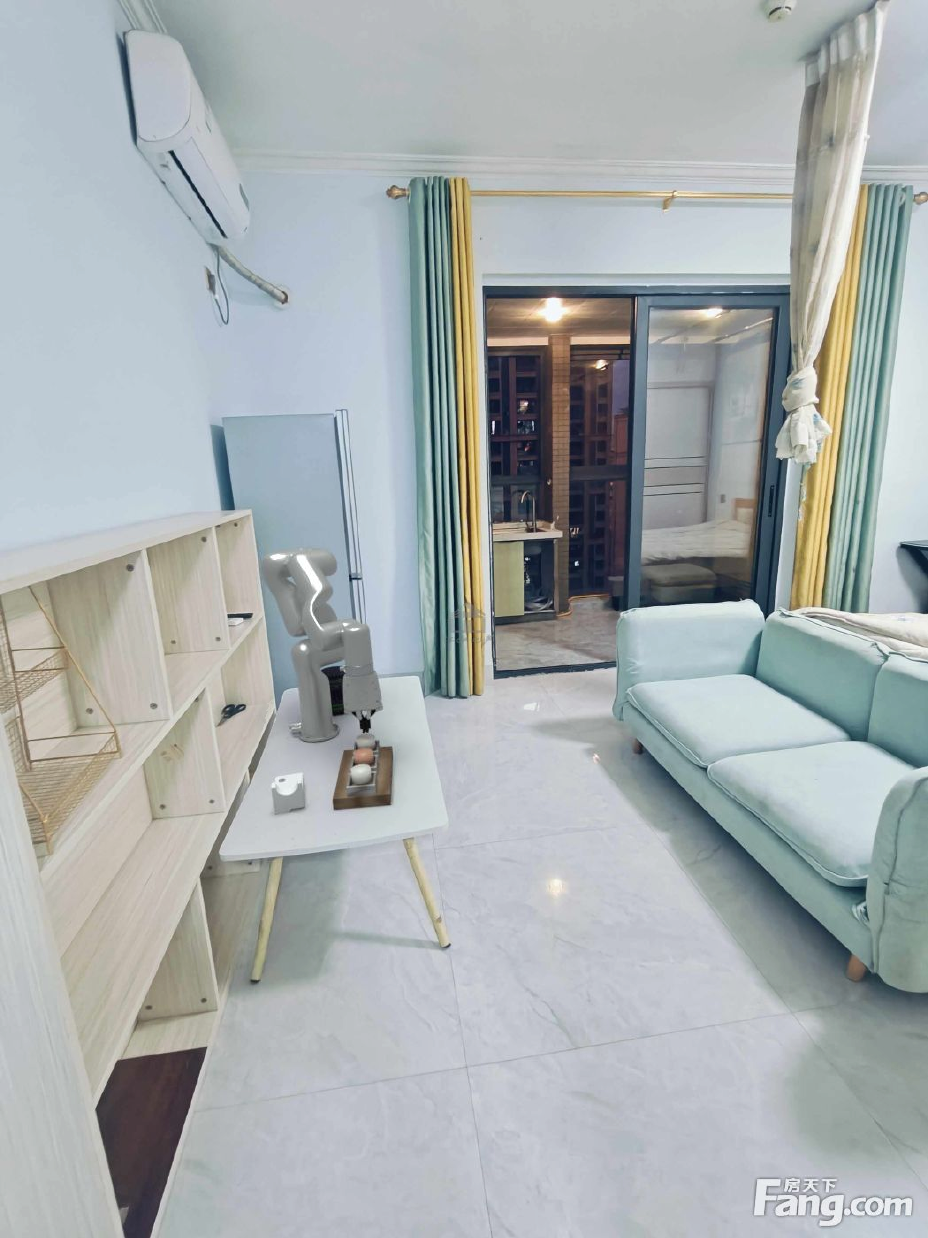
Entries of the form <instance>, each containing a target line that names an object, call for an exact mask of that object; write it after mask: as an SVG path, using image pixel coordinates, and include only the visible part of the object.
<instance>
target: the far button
mask: <svg viewBox="0 0 928 1238" xmlns="http://www.w3.org/2000/svg"><path fill="white" fill-rule="evenodd" d="M375 740H376V737H375V735H374V734H373V733H370V732H369V733H366V732H365V733H361V734H359V735H357V737H356V742H357V748H358V749H360V748H370V749H374V748H375Z"/></svg>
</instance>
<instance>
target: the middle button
mask: <svg viewBox="0 0 928 1238" xmlns="http://www.w3.org/2000/svg"><path fill="white" fill-rule="evenodd" d="M354 761H355V765H359V764H367V765H369V766H370V765H371V764H373V762H374V759H373V750H372V749H370V748H360V749H357V750H356V751H355V752H354Z"/></svg>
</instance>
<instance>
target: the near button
mask: <svg viewBox="0 0 928 1238" xmlns="http://www.w3.org/2000/svg"><path fill="white" fill-rule="evenodd" d="M351 779H352V783H353V784H356V785H363V784H367V783H369V782H370V781H371V780H372V776H371V767H370V766H369V765H367V764H359V765H355V766H354V767H352V768H351Z"/></svg>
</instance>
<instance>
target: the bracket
mask: <svg viewBox="0 0 928 1238" xmlns="http://www.w3.org/2000/svg"><path fill="white" fill-rule="evenodd" d="M270 788H271V794H272V795H271V796H272V802H273V809H274V815H281V814H282V815H283V814H288V813H291V810H294V809H300V808H305V779H304V772H297V773H291V774H287V775H286V774H285V775H280V776H275V779H274V782H271V787H270Z"/></svg>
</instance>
